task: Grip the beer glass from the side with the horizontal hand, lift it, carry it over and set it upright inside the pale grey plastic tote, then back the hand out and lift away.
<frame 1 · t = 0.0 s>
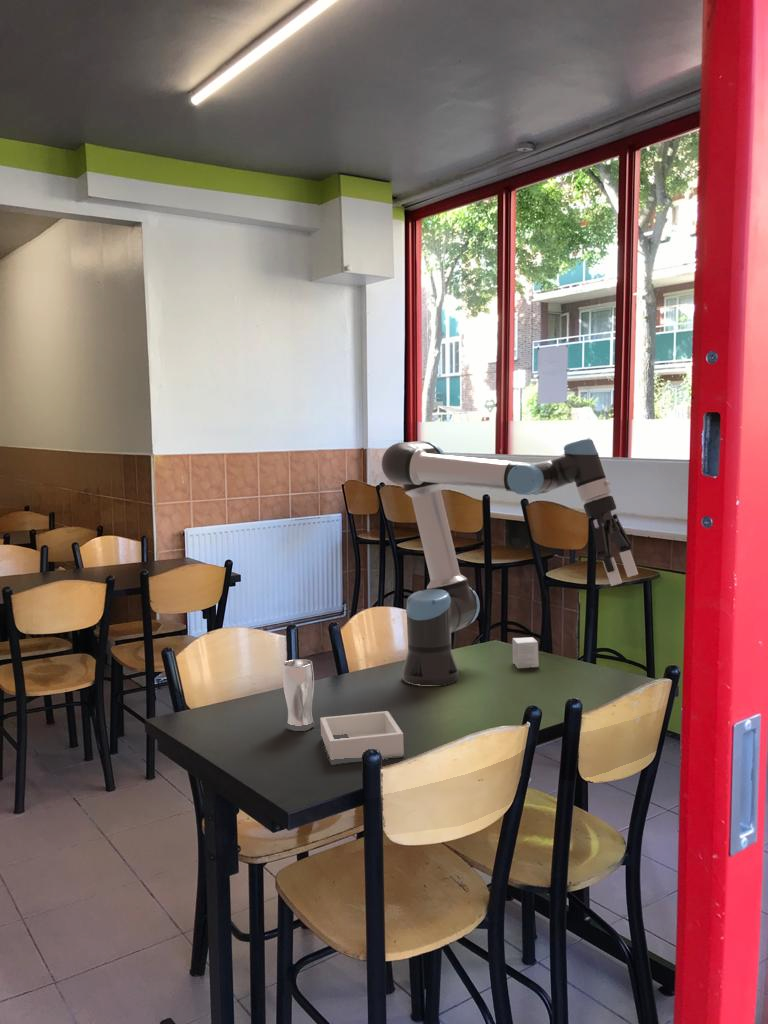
hand: (625, 580, 210), 28 cm above the table, tool tilted 20°, fingers open, 13 cm apart
product box: (525, 666, 238), on the table
tote: (361, 748, 178), on the table
beer glass: (300, 728, 193), on the table
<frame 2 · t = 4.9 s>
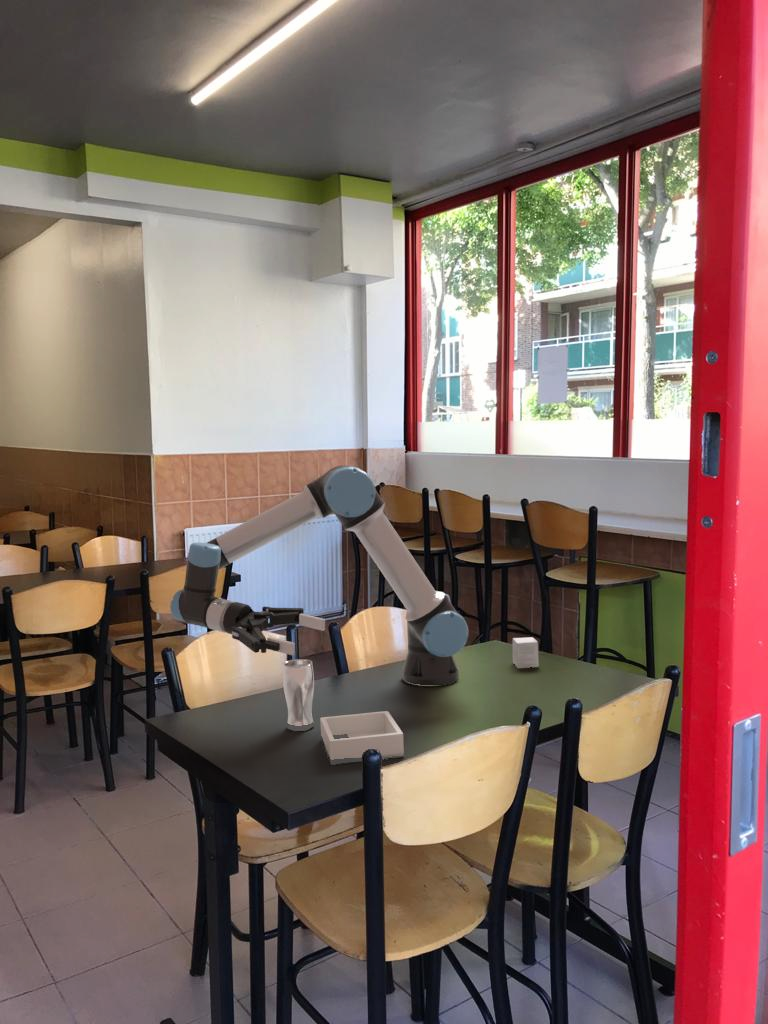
hand: (309, 636, 190), 21 cm above the table, tool horizontal, fingers open, 13 cm apart
nothing on the table moved.
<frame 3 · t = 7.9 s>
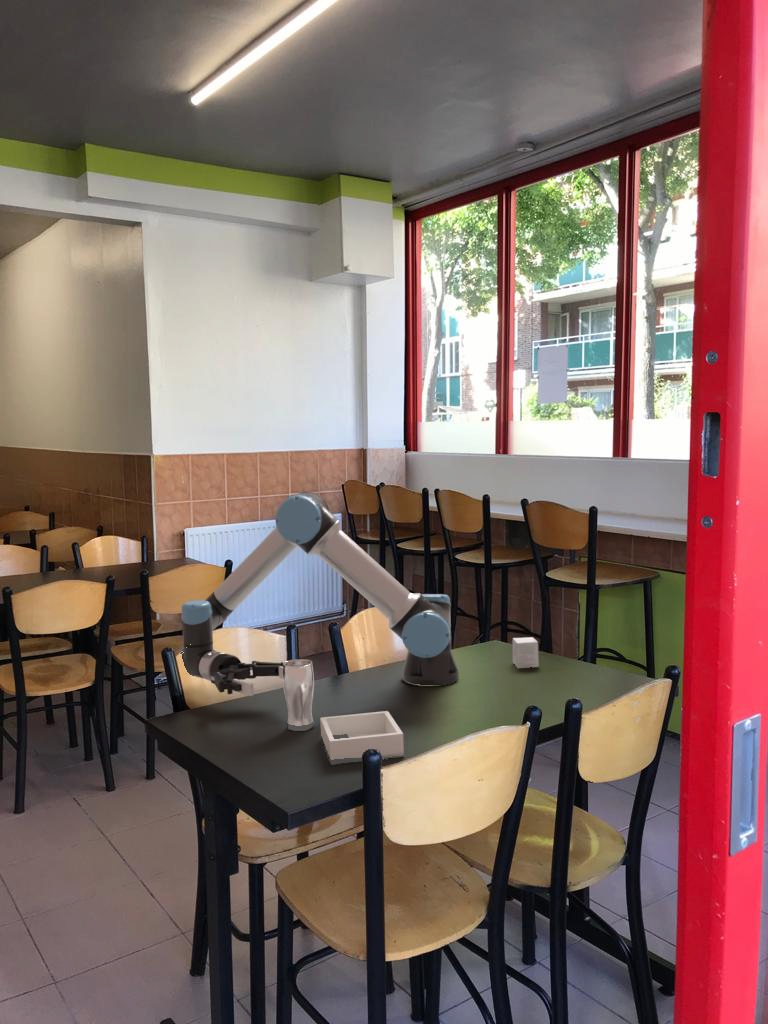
hand: (275, 682, 198), 9 cm above the table, tool horizontal, fingers open, 13 cm apart
nothing on the table moved.
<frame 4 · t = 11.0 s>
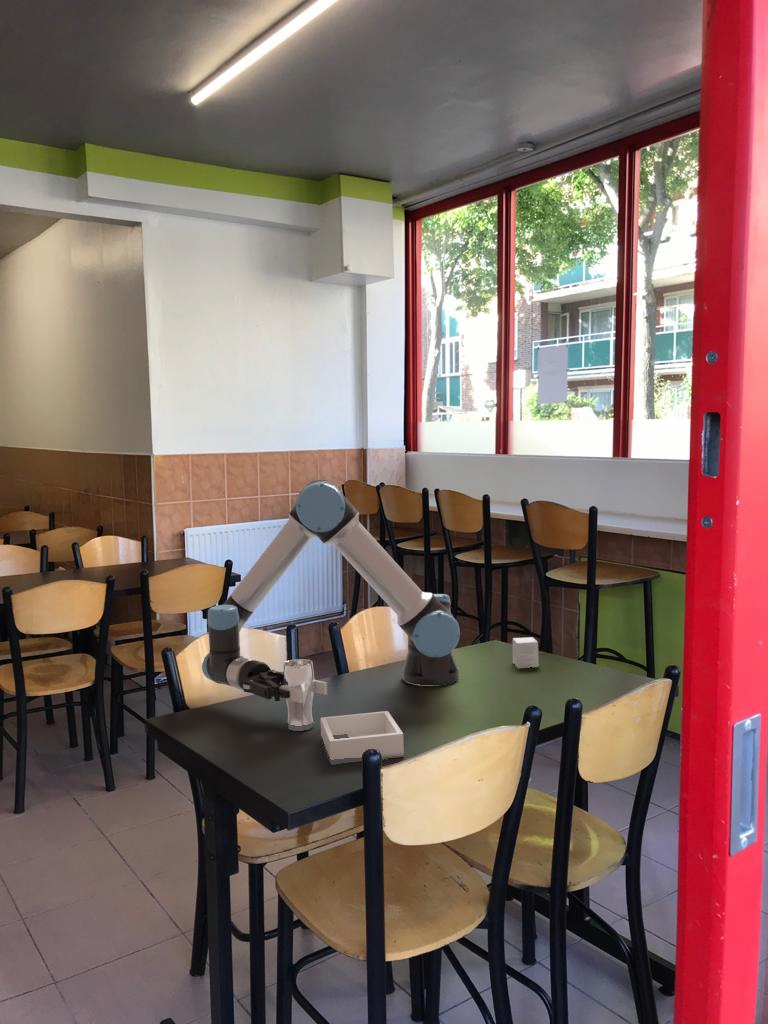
hand: (313, 692, 189), 9 cm above the table, tool horizontal, fingers closed on beer glass, 7 cm apart
beer glass: (300, 728, 193), on the table, touching gripper
everything else where it was.
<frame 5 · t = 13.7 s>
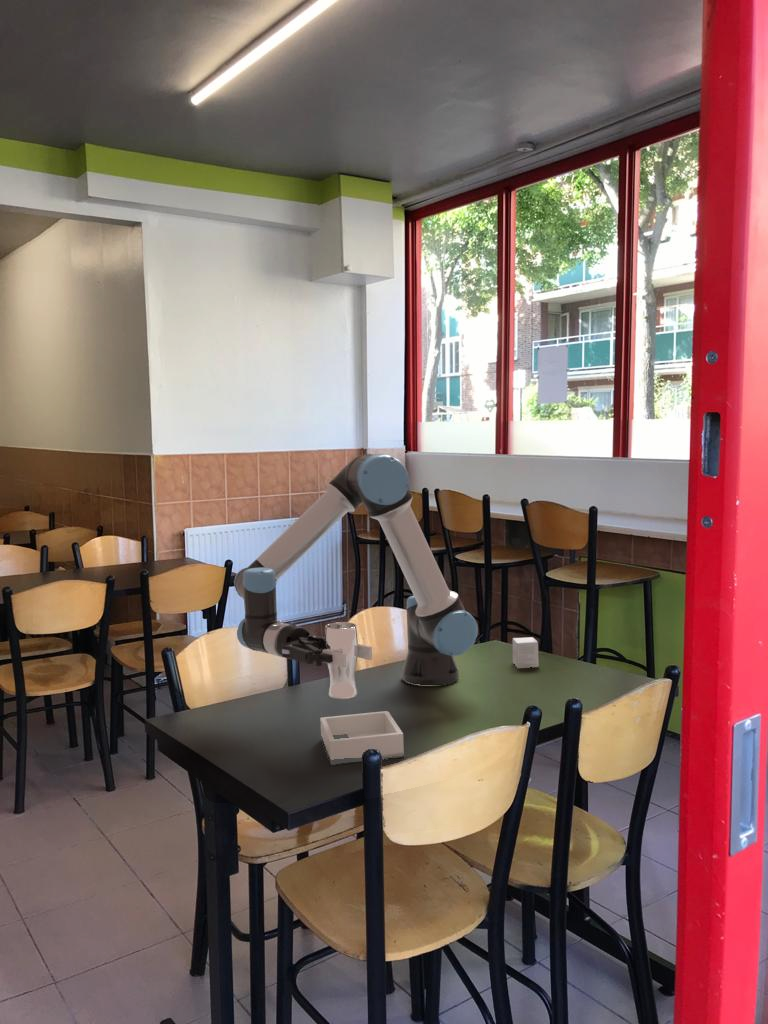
hand: (357, 657, 176), 20 cm above the table, tool horizontal, fingers closed on beer glass, 7 cm apart
beer glass: (343, 695, 180), point 11 cm above the table, touching gripper
everything else where it was.
when the fingers open (11 cm above the table, at t = 16.4 s): beer glass drops 1 cm, resting on tote.
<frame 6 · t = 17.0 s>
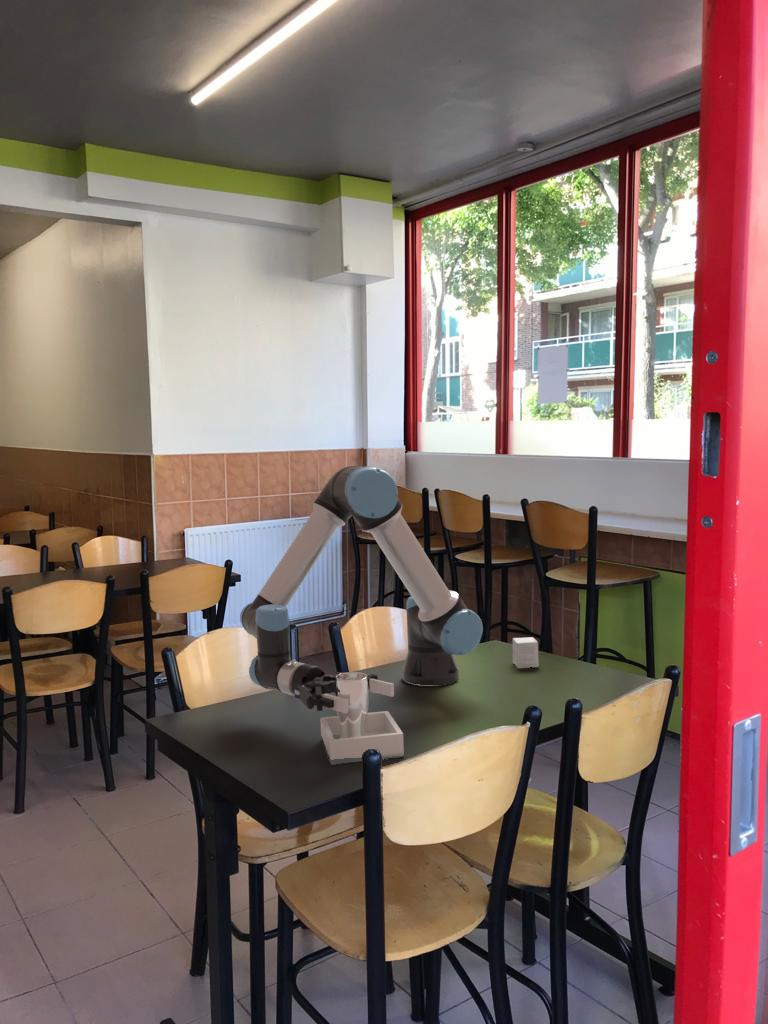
hand: (370, 698, 175), 12 cm above the table, tool horizontal, fingers open, 13 cm apart
beer glass: (353, 747, 177), point 1 cm above the table, touching tote
everything else where it was.
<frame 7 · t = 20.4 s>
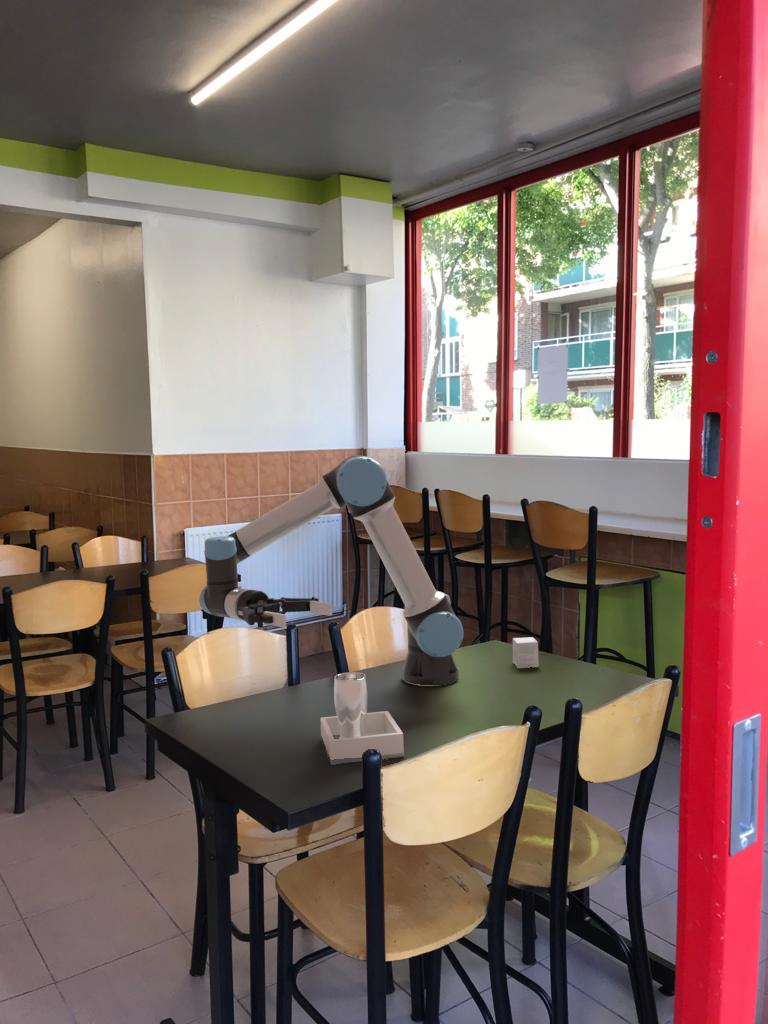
hand: (308, 615, 186), 27 cm above the table, tool horizontal, fingers open, 13 cm apart
nothing on the table moved.
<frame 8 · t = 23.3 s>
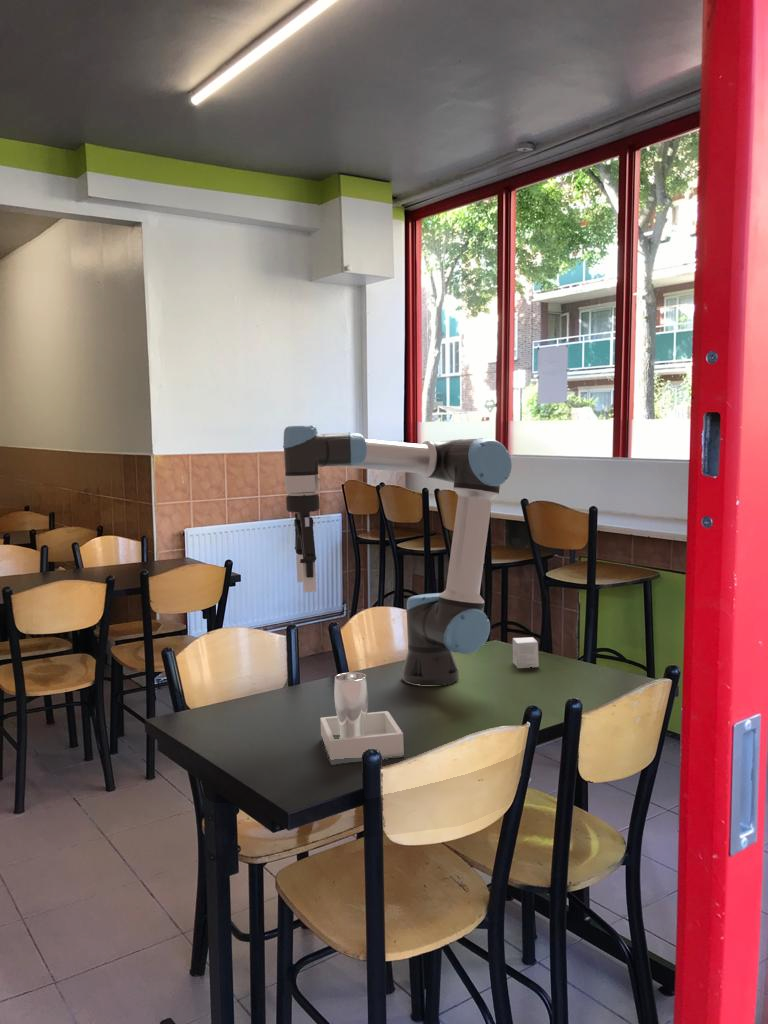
hand: (306, 586, 194), 32 cm above the table, tool pointing down, fingers open, 13 cm apart
nothing on the table moved.
at the end: beer glass inside the target area on the tote (2.2 cm from its centre), point 0.8 cm above the tote's base; beer glass tilted 0°; the gripper is holding nothing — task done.
